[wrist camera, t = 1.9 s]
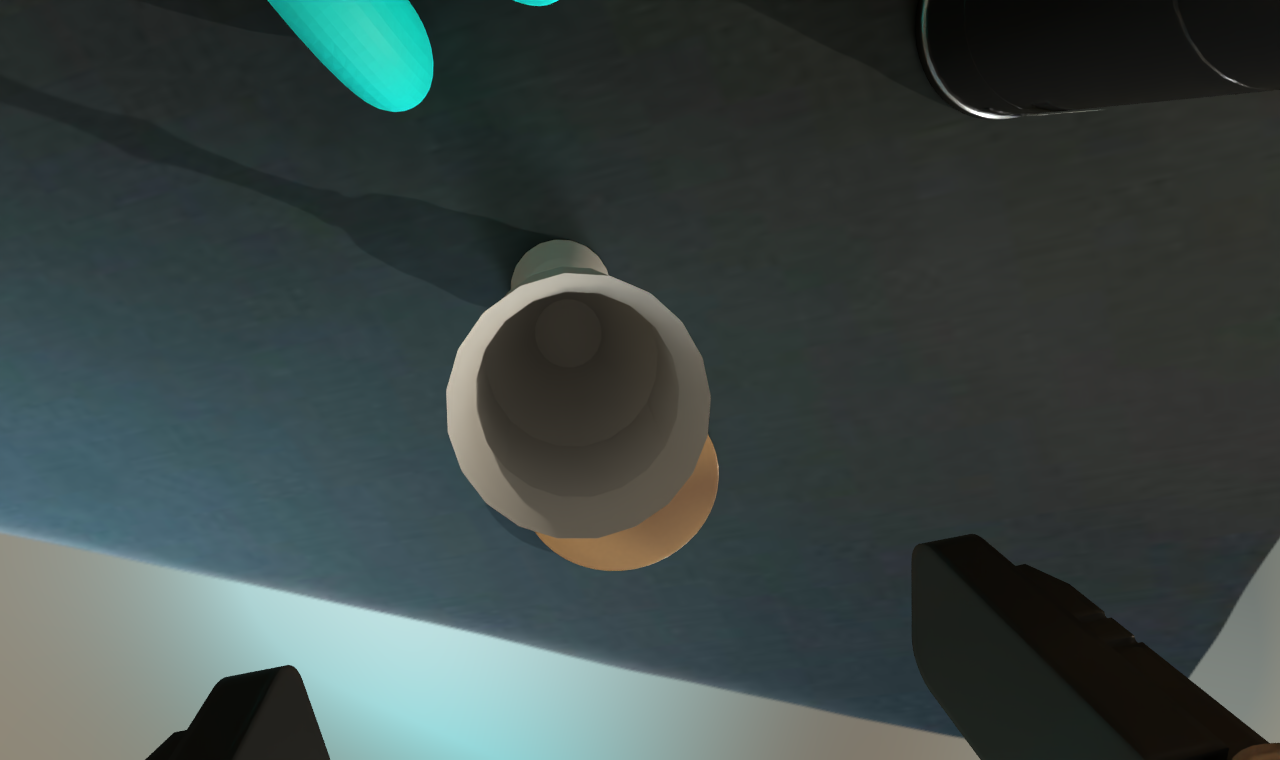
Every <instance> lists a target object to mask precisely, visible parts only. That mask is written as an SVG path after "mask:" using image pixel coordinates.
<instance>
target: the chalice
mask: <svg viewBox="0 0 1280 760" xmlns="http://www.w3.org/2000/svg"><path fill="white" fill-rule="evenodd" d="M446 393H447V421H448V434H449V437H450V440H451V442H452V445H453V448H454V451H455V454H456V456H457V459H458V462H459V465H460V468H461V470H462V472H463V473H464V475H465V476H466V477H467V479H468V480H469V481H470V483H471V484H472V485H473V486H474V488H475V489H476V490H477V492H478V493H479V494H480V496H481V497H482V498H483V500H484V501H485V502H486V503H487V504H488V505H490V506H491V507H492V508H494V509H495V510H497V511H498V512H499V513H501V514H502V515H504V516H505V517H507V518H508V519H509V520H511V521H512V522H514V523H515V524H517V525H518V526H520V527H523V528H526V529H529V530H532V531H536V532H539V533H542V534H545V535H548V536H551V537H555V538H600V537H604V536H607V535H610V534H613V533H616V532H620V531H623V530H626V529H629V528H632V527H636V526H637V525H639V524H640V523H641V522H643V521H644V520H646V519H647V518H649V517H650V516H652V515H653V514H655V513H656V512H657V511H659V510H660V509H662V508H663V507H665V506H666V505H668V504H669V503H670V501H671V500H672V499H673V498H674V496H675V495H676V494H677V492H678V491H679V490H680V489H681V487H682V486H683V485H684V484H685V482H686V481H687V480H688V479H689V477H690V476H691V475H692V474H693V472H694V469H695V467H696V464H697V461H698V459H699V456H700V454H701V451H702V449H703V446H704V444H705V441H706V439H707V435H708V424H709V412H710V400H711V396H710V391H709V387H708V382H707V377H706V373H705V368H704V363H703V359H702V356H701V354H700V353H699V351H698V349H697V347H696V346H695V344H694V342H693V340H692V339H691V337H690V335H689V333H688V332H687V330H686V328H685V326H684V325H683V323H682V321H681V320H679V319H678V318H677V317H676V316H675V315H674V314H673V313H672V312H671V311H669V310H668V309H667V308H666V307H665V306H664V305H663V304H662V303H661V302H659V301H658V300H657V299H656V298H655V297H654V296H653V295H652V294H651V293H649V292H646V291H644V290H642V289H639V288H637V287H635V286H632V285H630V284H628V283H625V282H623V281H621V280H618V279H616V278H613V277H611V276H608V272H607V269H606V268H605V266H604V265H603V263H602V261H601V260H600V258H599V257H598V256H597V255H596V254H595V253H593V252H592V251H591V250H590V249H589V248H587V247H586V246H584V245H581V244H579V243H576V242H574V241H571V240H551V241H548V242H544V243H541V244H538V245H537V246H535V247H534V248H532V249H531V250H529V251H528V252H526V253H525V255H524V256H523V257H522V259H521V260H520V261H519V263H518V264H517V265H516V268H515V271H514V273H513V276H512V279H511V290H510V291H509V292H508V293H507V294H506V296H505V297H504V298H503V299H502V300H500V301H499V302H497V303H496V304H495V305H493V306H492V307H491V308H489V309H488V310H486V311H485V312H484V313H483V314H482V316H481V317H480V319H479V320H478V321H477V323H476V324H475V326H474V327H473V329H472V330H471V331H470V333H469V334H468V336H467V337H466V339H465V340H464V342H463V343H462V344H461V346H460V347H459V349H458V352H457V355H456V359H455V362H454V366H453V369H452V373H451V376H450V380H449V383H448V387H447V390H446Z"/></svg>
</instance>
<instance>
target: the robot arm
mask: <svg viewBox="0 0 1280 760" xmlns="http://www.w3.org/2000/svg"><path fill="white" fill-rule="evenodd" d="M916 42H917V49H918V54H919V58H920V61H921V64H922V67H923V70H924V72H925V74H926V77H927V78H928V80H929V82H930V84H931V85H932V87H933V88H934V89H935V91H936V92H937V93H938V94H939V96H940V97H941V98H942V99H943V100H944V101H945V102H947V103H948V104H949V105H950V106H952V107H953V108H955V109H956V110H958V111H960V112H962V113H964V114H967V115H969V116H972V117H976V118H981V119H1006V118H1014V117H1019V116H1026V115H1032V116H1033V114H1039V113H1046V112H1058V111H1068V110H1078V109H1089V108H1099V107H1109V106H1119V105H1129V104H1140V103H1150V102H1160V101H1170V100H1181V99H1191V98H1201V97H1211V96H1222V95H1232V94H1242V93H1252V92H1262V91H1273V90H1280V0H919V1H918V6H917V13H916ZM1093 111H1096V110H1093ZM1081 112H1084V111H1081ZM1068 113H1071V112H1068ZM1056 114H1059V113H1056ZM1043 115H1046V114H1043ZM912 645H913V651H914V656H915V659H916V663H917V666H918V668H919V671H920V673H921V676H922V678H923V680H924V682H925V684H926V685H927V687H928V689H929V690H930V692H931V693H932V694H933V696H934V697H935V698H936V700H937V701H938V703H939V704H940V705H941V707H942V708H943V709H944V711H945V712H946V713H947V715H948V716H949V717H950V719H951V720H952V721H953V723H954V724H955V726H956V727H957V728H958V730H959V731H960V732H961V734H962V735H963V736H964V738H965V739H966V740H967V742H968V743H969V745H970V746H971V747H972V748H973V750H974V751H975V753H976V754H977V755H978V757H979V758H980V759H981V760H1280V743H1269V742H1267V741H1266V740H1265V739H1264V738H1262V737H1261V736H1260V735H1258V734H1257V733H1256V732H1255V731H1253V730H1252V729H1251V728H1250V727H1248V726H1247V725H1246V724H1245V723H1243V722H1242V721H1241V720H1240V719H1238V718H1237V717H1236V716H1234V715H1233V714H1232V713H1231V712H1230V711H1228V710H1227V709H1226V708H1224V707H1223V706H1222V705H1221V704H1219V703H1218V702H1217V701H1216V700H1214V699H1213V698H1212V697H1211V696H1209V695H1208V694H1207V693H1206V692H1204V691H1203V690H1202V689H1201V688H1199V687H1198V686H1197V685H1196V684H1194V683H1193V682H1192V681H1190V680H1189V679H1188V678H1187V677H1186V676H1184V675H1183V674H1182V673H1180V672H1179V671H1178V670H1177V669H1175V668H1174V667H1173V666H1172V665H1170V664H1169V663H1168V662H1167V661H1165V660H1164V659H1163V658H1162V657H1160V656H1159V655H1158V654H1157V653H1155V652H1154V651H1153V650H1152V649H1150V648H1149V647H1148V646H1147V645H1145V644H1144V643H1143V642H1140V643H1137V642H1136V640H1135V638H1134V635H1133V634H1131V633H1130V632H1129V631H1128V630H1126V629H1125V628H1124V627H1123V626H1121V625H1120V624H1119V623H1118V622H1116V621H1115V620H1114V619H1113V618H1106V616H1105V613H1104V611H1103V610H1101V609H1100V608H1099V607H1097V606H1096V605H1095V604H1094V603H1092V602H1091V601H1090V600H1089V599H1087V598H1086V597H1085V596H1084V595H1082V594H1081V593H1080V592H1079V591H1077V590H1076V589H1075V588H1074V587H1072V586H1071V585H1070V584H1068V583H1066V582H1064V581H1061V580H1059V579H1057V578H1055V577H1053V576H1050V575H1048V574H1046V573H1044V572H1042V571H1040V570H1037V569H1035V568H1033V567H1031V566H1029V565H1026V564H1023V565H1018V566H1015V565H1014V564H1012V563H1011V562H1010V561H1009V560H1008V559H1006V558H1005V557H1004V556H1003V555H1002V554H1001V553H999V552H998V551H997V550H996V549H995V548H993V547H992V546H991V545H990V544H989V543H988V542H986V541H985V540H984V539H983V538H981V537H980V536H978V535H975V534H968V535H963V536H958V537H953V538H948V539H943V540H938V541H932V542H927V543H922V544H918V545H917V546H916V547H915V548H914V550H913V553H912ZM145 760H330V758H329V755H328V752H327V749H326V746H325V743H324V740H323V737H322V734H321V732H320V729H319V726H318V723H317V720H316V717H315V715H314V712H313V709H312V706H311V703H310V701H309V698H308V695H307V692H306V689H305V686H304V683H303V680H302V678H301V676H300V674H299V672H298V671H297V669H296V668H295V667H293V666H290V665H286V666H281V667H276V668H271V669H265V670H261V671H255V672H250V673H245V674H240V675H235V676H230V677H225V678H223V679H221V680H220V681H219V682H218V683H217V684H216V685H215V686H214V688H213V689H212V691H211V693H210V694H209V696H208V697H207V699H206V701H205V702H204V704H203V705H202V707H201V708H200V710H199V712H198V713H197V715H196V716H195V718H194V720H193V721H192V723H191V724H190V726H189V727H188V729H187V730H185V731H179V732H175V733H173V734H172V735H171V736H170V737H169V738H168V739H167V740H166V741H165V742H164V743H163V744H161V745H160V746H159V747H158V748H157V749H156V750H155V751H154V752H153V753H152V754H151V755H150V756H149V757H148V758H146V759H145Z"/></svg>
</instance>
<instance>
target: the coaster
mask: <svg viewBox="0 0 1280 760" xmlns="http://www.w3.org/2000/svg"><path fill="white" fill-rule="evenodd" d="M718 479H719V473H718V462H717V456H716V452H715V449H714V446H713V443H712V441H711V439H710V437H709V435H707V439H706V441H705V444H704V446H703V449H702V451H701V454H700V456H699V459H698V461H697V464H696V467H695V469H694V472H693V474H692V475H691V476H690V477H689V479H688V480H687V481H686V482H685V484H684V485H683V486H682V487H681V489H680V490H679V491H678V492H677V494H676V495H675V496H674V498H673V499H672V500H671V501H670V503H669V504H668V505H666V506H665V507H663V508H662V509H660V510H659V511H657V512H656V513H655V514H653V515H652V516H650V517H649V518H647V519H646V520H644V521H643V522H641V523H640V524H639V525H637V526H636V527H632V528H629V529H626V530H623V531H620V532H616V533H613V534H610V535H607V536H604V537H600V538H555V537H551V536H548V535H545V534H542V533H539V532H536V531H535V533H536V534H537V535H538V536H539V538H540V539H541V540H542V541H543V542H544V543H545V544H546V545H547V546H548V547H549V548H550V549H552V550H553V551H554V552H555V553H557V554H558V555H560V556H561V557H563V558H565V559H567V560H569V561H571V562H573V563H575V564H578V565H581V566H584V567H588V568H592V569H597V570H607V571H622V570H630V569H636V568H640V567H644V566H647V565H650V564H653V563H655V562H658V561H660V560H662V559H664V558H666V557H668V556H670V555H671V554H673V553H674V552H676V551H677V550H679V549H680V548H681V547H682V546H684V545H685V544H686V543H687V542H688V541H689V540H690V539H691V538H692V537H693V536H694V535H695V534H696V533H697V532H698V530H699V529H700V528H701V526H702V525H703V524H704V522H705V520H706V519H707V517H708V515H709V513H710V511H711V509H712V506H713V503H714V501H715V497H716V493H717V488H718Z"/></svg>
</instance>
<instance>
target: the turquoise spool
mask: <svg viewBox="0 0 1280 760" xmlns="http://www.w3.org/2000/svg"><path fill="white" fill-rule="evenodd" d="M514 1H517V2H520V3H523V4H526V5H531V6H543V5H549V4H551V3H554V2H556V1H558V0H514ZM268 2H269V3H270V4H271V5H272V6H273V7H274V9H275V10H276V11H277V12H278V13H279V15H280V16H281V17H282V18H283V19H284V21H285V22H286V23H287V24H288V25H289V26H290V28H291V29H292V30H293V31H294V32H295V34H296V35H297V36H298V37H299V38H300V39H301V40H302V41H303V42H304V44H305V45H306V46H307V47H308V48H309V49H310V50H311V51H312V52H313V53H314V55H315V56H316V57H317V58H318V59H319V60H320V61H321V62H322V63H323V64H324V65H325V66H326V67H327V68H328V69H329V70H330V71H331V72H332V73H333V74H334V75H335V76H336V77H337V78H338V79H339V80H340V81H341V82H342V83H343V84H344V85H345V86H346V87H348V88H349V89H350V90H351V91H352V92H353V93H354V94H356V95H357V96H358V97H360V98H361V99H363V100H364V101H365V102H367V103H369V104H370V105H372V106H374V107H376V108H378V109H381V110H386V111H391V112H400V111H406V110H409V109H411V108H414V107H415V106H416V105H418V104H419V103H420V102H421V101H422V100H423V99H424V98H425V97H426V95H427V93H428V91H429V89H430V86H431V82H432V78H433V56H432V50H431V46H430V42H429V39H428V36H427V33H426V30H425V28H424V26H423V23H422V21H421V20H420V18H419V16H418V14H417V13H416V11H415V9H414V8H413V6H412V5H411V3H410V2H409V0H268Z"/></svg>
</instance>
